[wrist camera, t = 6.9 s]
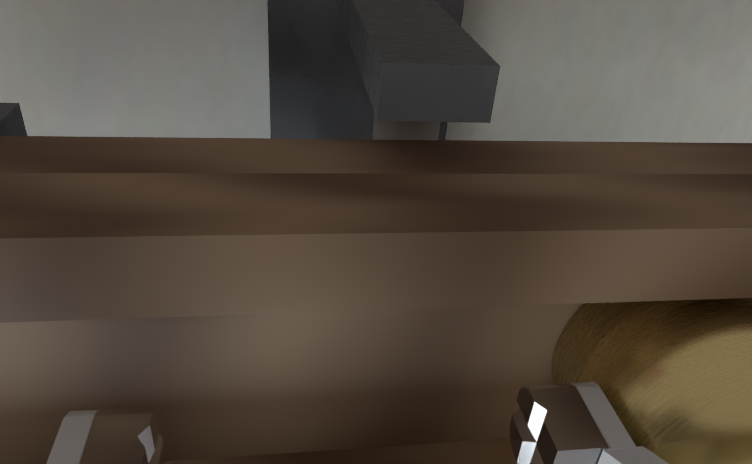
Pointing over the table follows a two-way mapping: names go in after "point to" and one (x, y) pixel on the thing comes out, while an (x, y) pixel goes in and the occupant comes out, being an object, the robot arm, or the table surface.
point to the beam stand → (373, 67)
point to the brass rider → (669, 373)
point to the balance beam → (335, 281)
